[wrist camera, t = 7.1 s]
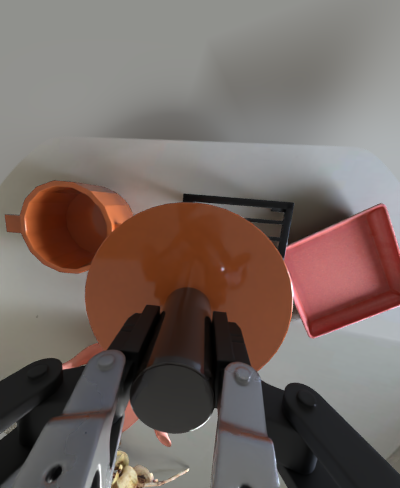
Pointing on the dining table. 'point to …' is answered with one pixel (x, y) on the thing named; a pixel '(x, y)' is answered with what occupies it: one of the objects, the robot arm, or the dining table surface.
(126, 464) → the artificial flower
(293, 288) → the plant saucer
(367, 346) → the dining table surface
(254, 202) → the rack
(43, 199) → the pot
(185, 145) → the dining table surface
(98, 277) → the lid
